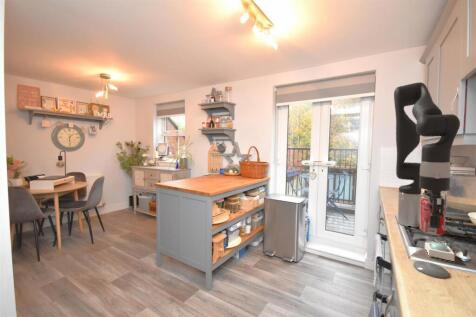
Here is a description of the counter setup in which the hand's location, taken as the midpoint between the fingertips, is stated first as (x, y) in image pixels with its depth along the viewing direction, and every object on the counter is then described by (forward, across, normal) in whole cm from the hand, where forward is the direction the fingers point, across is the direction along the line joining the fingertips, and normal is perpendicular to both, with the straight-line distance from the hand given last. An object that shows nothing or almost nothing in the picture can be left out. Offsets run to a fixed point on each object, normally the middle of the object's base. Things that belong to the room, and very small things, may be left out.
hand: (432, 223), depth 72 cm
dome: (+16, -14, +5) cm, 22 cm away
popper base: (+16, -14, +5) cm, 22 cm away
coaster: (+16, 0, 0) cm, 16 cm away
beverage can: (+3, 0, 0) cm, 3 cm away
